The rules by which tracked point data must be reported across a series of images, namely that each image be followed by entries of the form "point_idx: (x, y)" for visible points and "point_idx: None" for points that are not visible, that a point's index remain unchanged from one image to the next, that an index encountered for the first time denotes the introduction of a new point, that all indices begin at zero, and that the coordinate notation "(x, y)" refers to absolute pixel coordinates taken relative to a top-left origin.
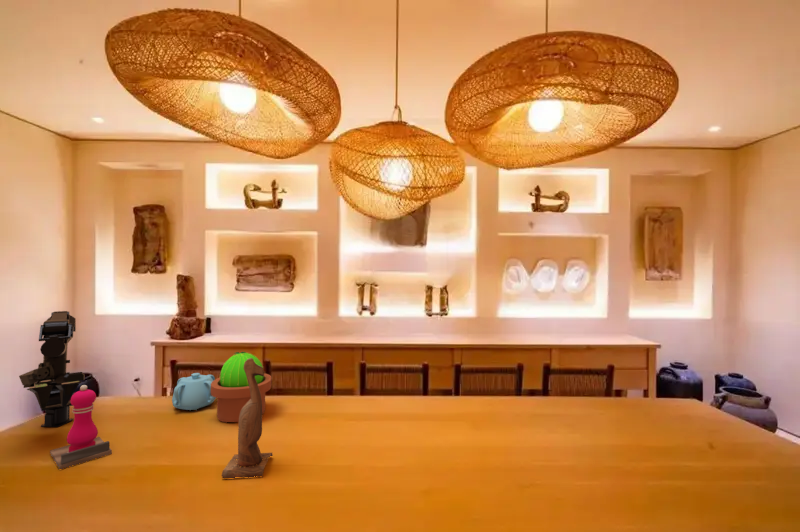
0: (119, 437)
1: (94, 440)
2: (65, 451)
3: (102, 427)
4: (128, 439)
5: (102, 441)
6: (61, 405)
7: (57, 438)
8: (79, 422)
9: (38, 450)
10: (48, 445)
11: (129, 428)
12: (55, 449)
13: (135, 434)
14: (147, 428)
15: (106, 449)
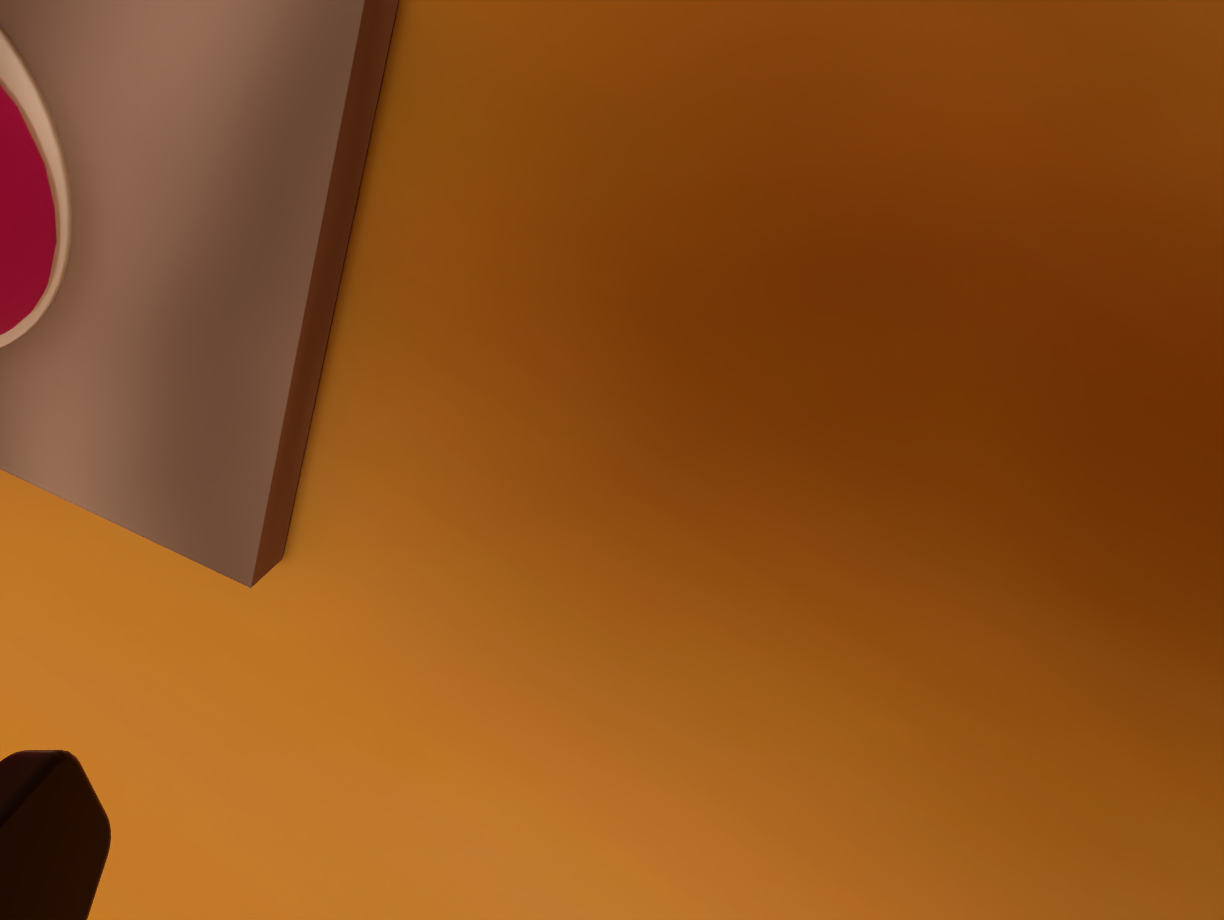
0: (158, 672)
1: (165, 478)
2: (94, 69)
3: (714, 893)
4: (13, 646)
5: (42, 479)
6: (34, 764)
7: (1006, 477)
8: None
9: (782, 17)
10: (838, 226)
11: (335, 891)
12: (322, 61)
13: (93, 763)
14: (153, 904)
15: None
